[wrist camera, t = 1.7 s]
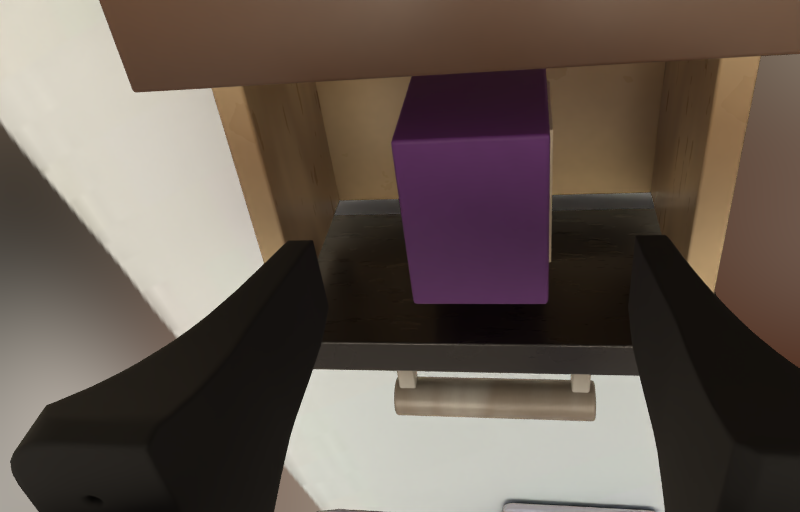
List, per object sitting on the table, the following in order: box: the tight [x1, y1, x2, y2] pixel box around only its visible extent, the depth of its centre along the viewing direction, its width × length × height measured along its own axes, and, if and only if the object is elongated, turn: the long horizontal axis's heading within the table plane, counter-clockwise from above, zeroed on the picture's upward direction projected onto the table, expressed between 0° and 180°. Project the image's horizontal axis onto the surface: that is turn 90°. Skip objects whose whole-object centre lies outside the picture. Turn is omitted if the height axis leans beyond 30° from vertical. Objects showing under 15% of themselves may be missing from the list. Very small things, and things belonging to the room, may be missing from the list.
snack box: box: [391, 69, 553, 304], centre depth 19 cm, size 5×4×6 cm
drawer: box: [212, 56, 761, 421], centre depth 21 cm, size 17×13×7 cm
